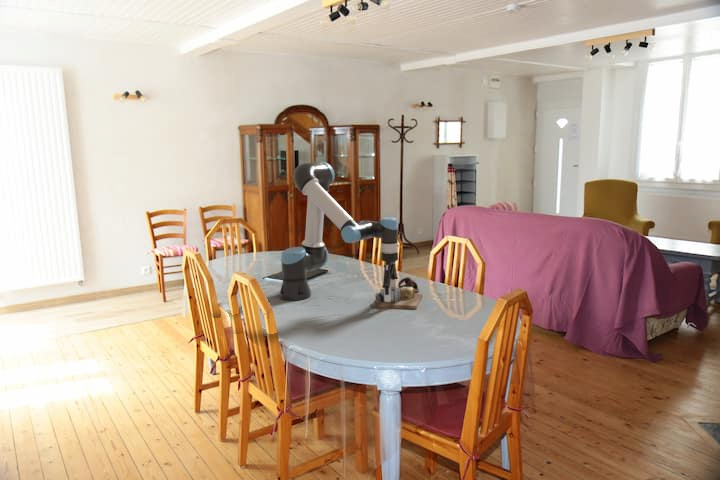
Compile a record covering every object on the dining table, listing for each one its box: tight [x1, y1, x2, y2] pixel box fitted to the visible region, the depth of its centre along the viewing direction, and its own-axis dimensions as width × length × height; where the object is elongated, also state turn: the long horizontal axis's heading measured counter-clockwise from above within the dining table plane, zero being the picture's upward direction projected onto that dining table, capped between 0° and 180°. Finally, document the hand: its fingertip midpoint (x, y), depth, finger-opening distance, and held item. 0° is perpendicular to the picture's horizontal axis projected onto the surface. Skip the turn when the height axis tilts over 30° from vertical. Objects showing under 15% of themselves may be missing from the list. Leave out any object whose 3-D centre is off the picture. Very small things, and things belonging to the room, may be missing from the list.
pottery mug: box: [397, 276, 420, 293], centre depth 276 cm, size 12×10×8 cm
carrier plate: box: [371, 287, 424, 310], centre depth 259 cm, size 20×20×6 cm
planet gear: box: [380, 287, 401, 303], centre depth 256 cm, size 9×9×5 cm
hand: (390, 297), depth 256 cm, fingers open, 13 cm apart
